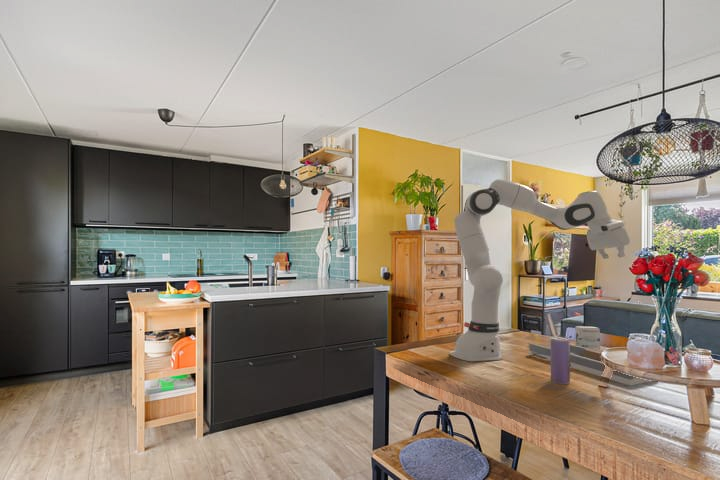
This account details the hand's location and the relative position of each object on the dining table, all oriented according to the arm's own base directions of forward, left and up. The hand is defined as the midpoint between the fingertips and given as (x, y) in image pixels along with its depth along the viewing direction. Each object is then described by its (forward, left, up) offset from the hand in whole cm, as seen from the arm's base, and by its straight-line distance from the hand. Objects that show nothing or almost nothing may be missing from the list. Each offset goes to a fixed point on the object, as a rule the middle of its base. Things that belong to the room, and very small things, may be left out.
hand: (613, 257), depth 162 cm
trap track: (-18, 0, -43) cm, 47 cm away
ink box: (+1, +13, -43) cm, 45 cm away
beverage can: (-45, -9, -43) cm, 63 cm away
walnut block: (-18, -4, -41) cm, 45 cm away
